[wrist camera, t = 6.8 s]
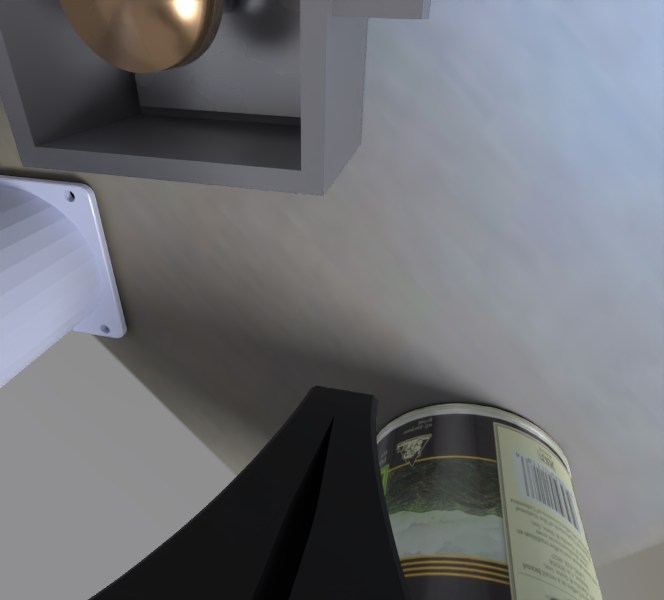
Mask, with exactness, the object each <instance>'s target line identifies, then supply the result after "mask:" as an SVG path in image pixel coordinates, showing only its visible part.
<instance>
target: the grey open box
mask: <svg viewBox="0 0 664 600" xmlns="http://www.w3.org/2000/svg"><path fill="white" fill-rule="evenodd" d="M430 3H431V0H300V60H301V117H289V116H275V115H261V114H247V113H232V112H218V111H204V110H190V109H175V108H161V107H147V106H140V103H139V97H138V91H137V85H136V79H135V73H134V72H129V71H126V70H122V69H120V68H118V67H115V66H113V65H111V64H110V63H108V62H106V61H105V60H103V59H102V58H101V57H99V56H98V55H97V54H95V53H94V52H93V51H92V50H91V49H90V48H89V47H88V46H87V45H86V44H85V43H84V41H83V40H82V39H81V38H80V37H79V35H78V34H77V33H76V31H75V30H74V28H73V27H72V25H71V23H70V22H69V20H68V18H67V17H66V15H65V12H64V10H63V8H62V6H61V4H60V1H59V0H0V94H1V97H2V100H3V103H4V107H5V110H6V113H7V116H8V120H9V123H10V126H11V129H12V132H13V136H14V139H15V142H16V145H17V149H18V152H19V155H20V158H21V161H22V165H23V166H25V167H36V168H46V169H56V170H66V171H76V172H87V173H97V174H107V175H117V176H127V177H138V178H148V179H158V180H168V181H178V182H189V183H199V184H209V185H219V186H229V187H240V188H250V189H260V190H270V191H280V192H290V193H301V194H311V195H321V196H324V194H325V193H326V192H327V190H328V189H329V188H330V186H331V185H332V183H333V182H334V181H335V179H336V178H337V176H338V175H339V174H340V172H341V171H342V169H343V168H344V167H345V165H346V164H347V162H348V161H349V160H350V158H351V157H352V155H353V154H354V153H355V151H356V150H357V148H358V147H359V146H360V144H361V127H362V110H363V92H364V75H365V58H366V40H367V23H368V18H398V19H429V12H430Z"/></svg>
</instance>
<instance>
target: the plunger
mask: <svg viewBox="0 0 664 600" xmlns="http://www.w3.org/2000/svg"><path fill="white" fill-rule="evenodd" d="M59 1H60V4H61V6H62V8H63V10H64V12H65V15H66V17H67V18H68V20H69V22H70V23H71V25H72V27H73V28H74V30H75V31H76V33H77V34H78V35H79V37H80V38H81V39H82V40H83V41H84V43H85V44H86V45H87V46H88V47H89V48H90V49H91V50H92V51H93V52H94V53H95V54H97V55H98V56H99V57H101V58H102V59H103V60H105V61H106V62H108V63H110V64H111V65H113V66H115V67H118V68H120V69H122V70H126V71H129V72H134V73H135V79H136V85H137V91H138V97H139V103H140V106H147V107H161V108H175V109H190V110H204V111H218V112H232V113H247V114H261V115H275V116H289V117H301V60H300V0H59Z"/></svg>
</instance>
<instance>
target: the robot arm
mask: <svg viewBox="0 0 664 600" xmlns="http://www.w3.org/2000/svg"><path fill="white" fill-rule="evenodd" d="M70 191H71V192H72V193H73V194H74V196H75V198H73V197H72V196H71V194H70ZM106 326H107V327H108V328H107V327H106ZM69 331H76V332H82V333H88V334H94V335H100V336H107V337H113V338H121V337H122V336H123V335H124V334H125V333H126V332H127V327H126V323H125V319H124V315H123V311H122V307H121V302H120V298H119V294H118V290H117V286H116V281H115V277H114V273H113V269H112V265H111V261H110V256H109V252H108V248H107V244H106V240H105V235H104V231H103V227H102V223H101V219H100V215H99V210H98V206H97V202H96V198H95V195H94V192H93V191H92V189H91V188H90V187H89V186H87V185H85V184H82V183H73V182H63V181H53V180H43V179H34V178H24V177H14V176H4V175H0V388H1V387H2V386H3V385H4V384H6V383H7V382H8V381H9V380H10V379H12V378H13V377H14V376H15V375H16V374H18V373H19V372H20V371H21V370H23V369H24V368H25V367H26V366H28V365H29V364H30V363H31V362H32V361H34V360H35V359H36V358H37V357H38V356H40V355H41V354H42V353H43V352H45V351H46V350H47V349H48V348H49V347H51V346H52V345H53V344H54V343H56V342H57V341H58V340H59V339H60V338H61V337H63V336H64V335H65V334H66V333H68V332H69ZM377 404H378V400H377V399H376V398H375V397H374V396H373V395H368V394H362V393H356V392H350V391H344V390H338V389H332V388H326V387H320V386H315V387H313V388H312V389H310V391H309V392H308V394H307V395H306V397H305V398H304V399H303V401H302V402H301V403H300V405H299V406H298V407H297V409H296V410H295V411H294V413H293V414H292V415H291V416H290V418H289V419H288V420H287V421H286V422H285V424H284V425H283V426H282V427H281V429H280V430H279V431H278V432H277V433H276V434H275V436H274V437H273V438H272V439H271V440H270V441H269V442H268V443H267V445H266V446H265V447H264V448H263V449H262V450H261V451H260V453H259V454H258V455H257V456H256V457H255V458H254V459H253V460H252V461H251V462H250V463H249V464H248V465H247V466H246V468H245V469H244V470H243V471H242V472H241V473H240V474H239V475H238V476H237V477H236V478H235V479H234V480H233V481H232V482H231V483H230V484H229V485H228V486H227V487H226V488H225V489H224V490H223V491H222V492H221V493H220V494H219V495H218V496H217V497H216V498H215V499H213V500H212V501H211V502H210V503H209V504H208V505H207V506H206V507H205V508H204V509H203V510H202V511H200V512H199V513H198V514H197V515H196V516H195V517H194V518H193V519H191V520H190V521H189V522H188V523H187V524H186V525H184V527H182V528H181V529H180V530H179V531H178V532H176V533H175V534H174V535H173V536H172V537H170V538H169V539H168V540H167V541H166V542H164V543H163V544H162V545H161V546H159V547H158V548H157V549H156V550H154V551H153V552H152V553H151V554H149V555H148V556H147V557H146V558H144V559H143V560H142V561H141V562H139V563H138V564H137V565H136V566H134V567H133V568H131V569H130V570H129V571H128V572H126V573H125V574H124V575H122V576H121V577H120V578H118V579H117V580H116V581H114V582H113V583H111V584H110V585H109V586H107V587H106V588H104V589H103V590H102V591H100V592H99V593H97V594H96V595H94V596H93V597H91V598H90V599H89V600H412V599H411V596H410V593H409V589H408V586H407V583H406V579H405V576H404V572H403V569H402V566H401V562H400V558H399V555H398V551H397V547H396V543H395V539H394V535H393V531H392V527H391V522H390V518H389V514H388V509H387V504H386V499H385V494H384V489H383V483H382V477H381V471H380V465H379V457H378V449H377V437H376V413H377Z"/></svg>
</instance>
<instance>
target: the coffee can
mask: <svg viewBox="0 0 664 600" xmlns="http://www.w3.org/2000/svg"><path fill="white" fill-rule="evenodd" d="M376 437H377V449H378V457H379V465H380V471H381V477H382V483H383V489H384V494H385V499H386V504H387V509H388V514H389V518H390V522H391V527H392V531H393V535H394V539H395V543H396V547H397V551H398V555H399V558H400V562H401V566H402V569H403V572H404V576H405V579H406V583H407V586H408V589H409V593H410V596H411V599H412V600H602V596H601V592H600V588H599V584H598V580H597V577H596V573H595V570H594V566H593V563H592V559H591V555H590V550H589V546H588V542H587V538H586V534H585V531H584V526H583V523H582V520H581V516H580V512H579V508H578V505H577V501H576V497H575V493H574V489H573V485H572V481H571V472H570V468H569V464H568V461H567V459H566V457H565V455H564V454H563V451H562V449H561V448H560V447H559V446H558V445H557V444H556V443H555V442H554V441H553V439H552V438H551V437H550V436H549V435H547V434H546V433H545V432H544V431H543V430H541V429H540V428H539V427H537V426H536V425H534V424H533V423H531V422H529V421H527V420H525V419H523V418H521V417H519V416H517V415H515V414H512V413H509V412H506V411H503V410H500V409H498V408H494V407H488V406H480V405H475V404H462V403H451V404H440V405H432V406H428V407H424V408H420V409H416V410H413V411H410V412H408V413H406V414H404V415H402V416H400V417H398V418H396V419H395V420H393V421H392V422H390V423H389V424H388V425H387V426H386V427H384V428H383V429H382V430H381V431H380V433H379V434H378V435H377V436H376Z"/></svg>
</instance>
